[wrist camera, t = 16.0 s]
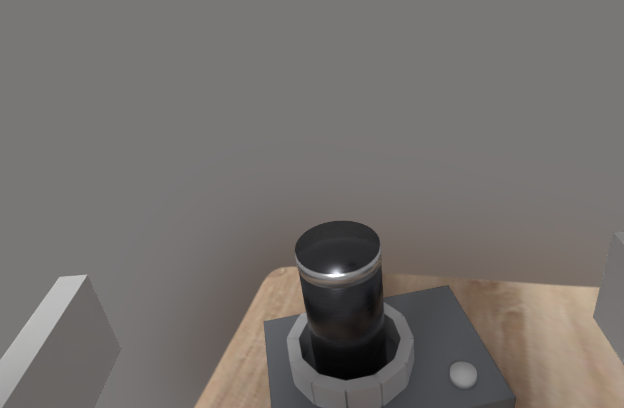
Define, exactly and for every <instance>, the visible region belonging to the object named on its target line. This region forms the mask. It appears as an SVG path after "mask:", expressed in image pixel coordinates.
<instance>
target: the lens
mask: <svg viewBox="0 0 624 408" xmlns="http://www.w3.org/2000/svg"><path fill="white" fill-rule="evenodd" d="M295 257H296V262H297V268H298V271H299V275H300V281H301V287H302V292H303V298H304V304H305V309H306V315H307V321H308V326H309V332H310V338H311V343H312V349H313V355H314V360H315V366H316V370H317V372H318V374H320V375H325V376H329V377H333V378H337V379H341V380H346V381H347V380H352V379H357V378H362V377H366V376H371V375H375V374H376V373H377V372H379V371H380V370H381V369H382V368H384V367H385V366H386V365H387V348H386V333H385V317H384V301H383V285H382V270H381V259H382V258H381V244H380V240H379V237H378V236H377V234H376V233H375V231H373V230H372V229H371V228H369V227H368V226H366V225H364V224H361V223H357V222H352V221H333V222H327V223H323V224H320V225H318V226H315V227H313V228H311V229H310V230H308V231H306V232H305V233H304V234H303V235H302V236H301V237H300V238H299V240H298V241H297V243H296V248H295Z"/></svg>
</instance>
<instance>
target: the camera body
mask: <svg viewBox="0 0 624 408" xmlns="http://www.w3.org/2000/svg"><path fill="white" fill-rule="evenodd" d="M383 301H384V317H385V333H386V348H387V365H386V366H385V367H384V368H382V369H381V370H380V371H379V372H377V373H376V374H375V375H371V376H366V377H362V378H357V379H352V380H347V381H346V380H341V379H337V378H333V377H329V376H325V375H320V374H318V372H317V370H316V366H315V360H314V355H313V349H312V343H311V338H310V332H309V326H308V321H307V315H306V312H304V313H303V314H299V315H294V316H289V317H284V318H279V319H274V320H269V321H264V331H265V342H266V353H267V364H268V375H269V386H270V397H271V408H514V407H515V400H516V397H515V395H514V394H513V392H512V390H511V389H510V387H509V385H508V384H507V382H506V380H505V379H504V377H503V375H502V374H501V372H500V370H499V369H498V367H497V365H496V364H495V362H494V360H493V359H492V357H491V355H490V354H489V352H488V350H487V349H486V347H485V345H484V344H483V342H482V340H481V339H480V337H479V335H478V334H477V332H476V330H475V329H474V327H473V325H472V324H471V322H470V320H469V319H468V317H467V315H466V314H465V312H464V310H463V309H462V307H461V306H460V304H459V302H458V301H457V299H456V297H455V296H454V294H453V292H452V291H451V289H450V287H449V286H448V285H447V286H442V287H437V288H432V289H427V290H422V291H417V292H412V293H406V294H401V295H396V296H391V297H386V298H383Z"/></svg>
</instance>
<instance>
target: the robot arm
mask: <svg viewBox="0 0 624 408" xmlns="http://www.w3.org/2000/svg"><path fill="white" fill-rule="evenodd" d="M593 318H594V319H595V321H596V322H597V324H598V325H599V327H600V328H601V330H602V332H603V333H604V335H605V336H606V338H607V339H608V341H609V342H610V344H611V346H612V347H613V349H614V350H615V352H616V353H617V355H618V356H619V358H620V360H621V361H622V363H623V364H624V232H613V235H612V239H611V243H610V248H609V252H608V256H607V261H606V265H605V269H604V273H603V278H602V281H601V286H600V290H599V294H598V298H597V303H596V307H595V311H594V315H593ZM120 350H121V347H120V345H119V343H118V341H117V338H116V336H115V334H114V332H113V330H112V328H111V325H110V323H109V321H108V319H107V316H106V314H105V312H104V310H103V308H102V305H101V303H100V301H99V299H98V297H97V294H96V292H95V290H94V288H93V285H92V283H91V281H90V279H89V277H88V275H78V276H66V277H59V279H58V280H57V282H56V283H55V284H54V286H53V287H52V288H51V290H50V291H49V293H48V294H47V296H46V297H45V298H44V300H43V301H42V303H41V304H40V305H39V307H38V308H37V309H36V311H35V312H34V314H33V315H32V316H31V318H30V319H29V321H28V322H27V323H26V325H25V326H24V328H23V329H22V331H21V332H20V333H19V335H18V336H17V338H16V339H15V340H14V342H13V343H12V344H11V346H10V347H9V349H8V350H7V351H6V353H5V354H4V356H3V357H2V359H1V360H0V408H94V407H95V404H96V402H97V400H98V398H99V396H100V394H101V391H102V389H103V387H104V385H105V383H106V381H107V378H108V376H109V374H110V372H111V370H112V368H113V365H114V363H115V361H116V359H117V357H118V355H119V352H120Z"/></svg>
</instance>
